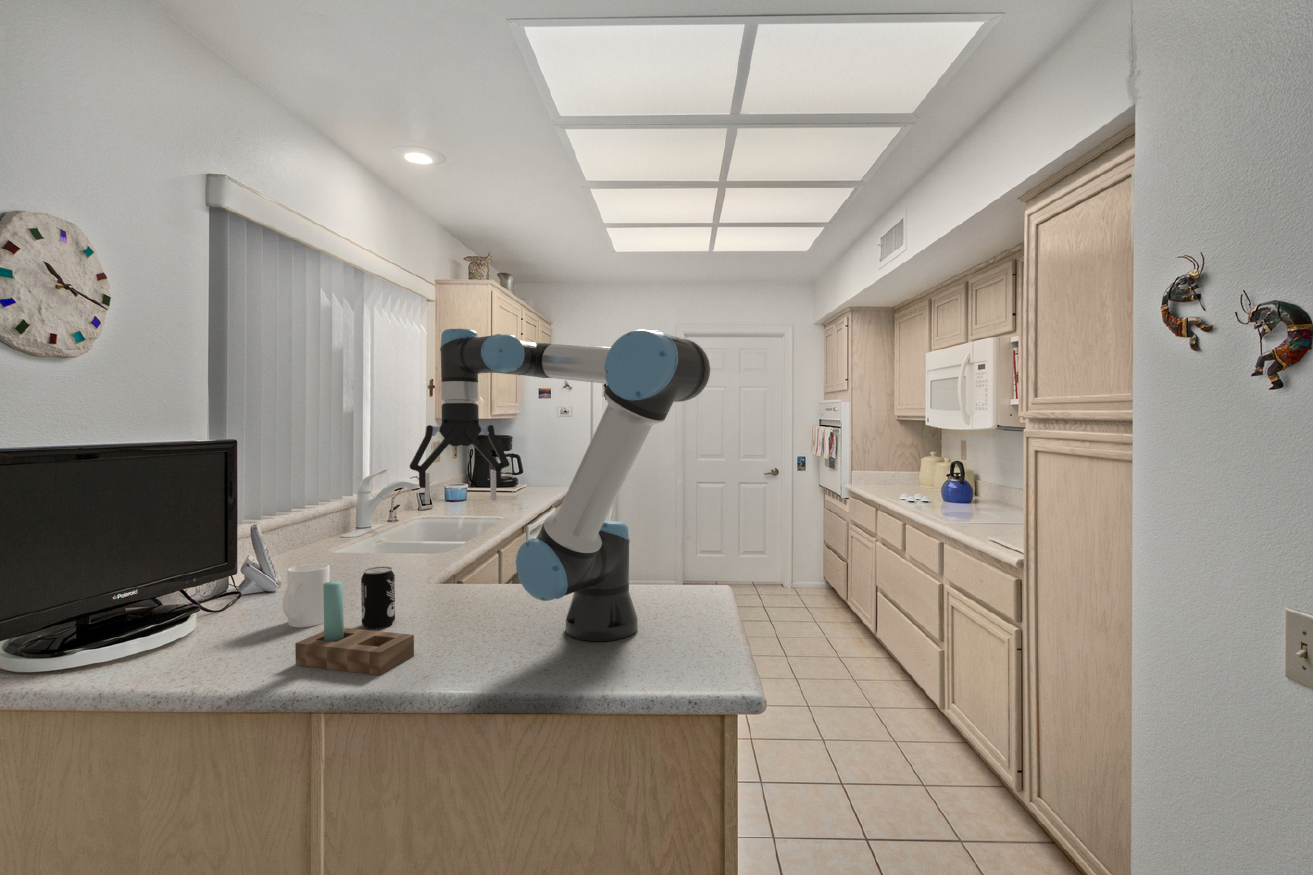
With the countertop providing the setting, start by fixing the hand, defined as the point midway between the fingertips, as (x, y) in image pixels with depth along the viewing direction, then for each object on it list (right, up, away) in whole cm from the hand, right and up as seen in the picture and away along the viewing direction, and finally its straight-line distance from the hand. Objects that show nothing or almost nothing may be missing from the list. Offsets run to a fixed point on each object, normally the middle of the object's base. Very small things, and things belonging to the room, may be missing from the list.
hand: (461, 501), depth 129 cm
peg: (-18, -27, -17) cm, 37 cm away
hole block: (-13, -27, -19) cm, 36 cm away
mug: (-35, -27, +2) cm, 44 cm away
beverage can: (-18, -27, +1) cm, 33 cm away
